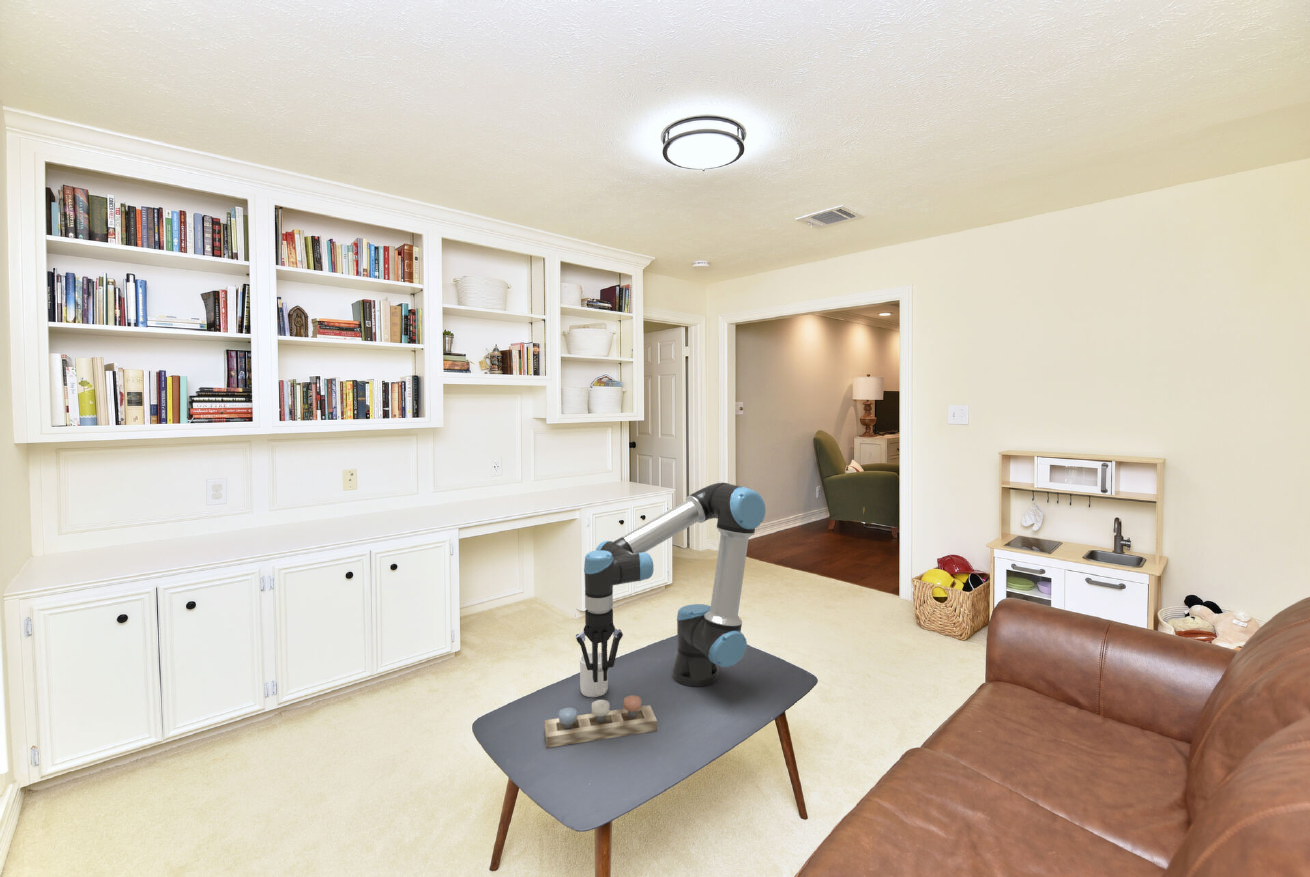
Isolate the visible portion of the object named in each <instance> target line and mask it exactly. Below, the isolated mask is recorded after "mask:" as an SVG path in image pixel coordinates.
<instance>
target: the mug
mask: <svg viewBox="0 0 1310 877" xmlns="http://www.w3.org/2000/svg"><path fill="white" fill-rule="evenodd" d="M587 654H588V657H589V661H590V663H592V651H590V652H587ZM608 659H609V656H607V661H608ZM598 667H602V657H601V651H600V652H599V651H598ZM579 670H580V671H579V677H580V678H579V682H580V684H579V685H580V686H579V687H580V692H581V695H583V696H584V697H587V698H599V697H602V696H604V695H605V694H607V692H608V690H609V689H608V688H609V670H608V671H607V681H603V686H604V694H602V695H598V693H597V682H594V681H593V671H592V670H587V667H586V664H585V660H584V656H583V654H582V655H581V656H580V657H579Z"/></svg>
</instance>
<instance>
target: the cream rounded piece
mask: <svg viewBox="0 0 1310 877" xmlns="http://www.w3.org/2000/svg"><path fill="white" fill-rule="evenodd" d="M609 711H610V702H609V701H608V700H606V699H597V700H594V701H592V703H591V714H593V715H595V716H596V722H598V723H603V722H605V721H606V715H607V714H608V713H609Z"/></svg>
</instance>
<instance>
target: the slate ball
mask: <svg viewBox="0 0 1310 877" xmlns="http://www.w3.org/2000/svg"><path fill="white" fill-rule="evenodd" d="M577 713H578V712H577V710H576V708H574V707H565V708H561V709H560V710H559V711H558V718H559V722H560V723H561V724H563V730H567V729H573V723H574V722H575V721H576V720H577V716H578V714H577Z"/></svg>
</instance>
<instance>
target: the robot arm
mask: <svg viewBox="0 0 1310 877" xmlns="http://www.w3.org/2000/svg"><path fill="white" fill-rule="evenodd" d="M765 516H766V504H765V500H764V499H763V497H762V495H761V494H760V493H759V492H757V491H756V490H753V489H752V488H749V487H746V486H740V485H735V484H731V483H727V482H717V483H713V484H710V485H707V486H705V487H702V488H701V489H699V490H695V491H694V492H693V493H691V494H689V495H688V496H686V498H685V501H683V502H682V503H680V504H678V505H676V506H675V507H673V508H671V509H669V510H668V511H666V512H664V513H663V514H660V515H658V516H657V517H655V518H653V519H652V520H649V521H647V522H646V523H644V524H642V525H641V526H639V527H637V528H636V529H633V530H632V531H630V532H628V533H627V534H625V535H623V536H621V537H620V538H618V539H615V540H610V541H609V540H604V541H601V542H600V543H599V544H598V545H597V547H596V549H595V550H592V551H589V552H588V553H586V555H585V556H584V568H583V571H584V606H585V607H584V608H585V611H584V614H585V615H584V618H585V619H584V622H585V625H584V627H583V630H582V632H580V633H576V635H575V639H576V642H577V643H578V645H579V646H580V649H581V652H582V655H583V656H584V660H585V664H586V667H587V670H592V671H593V681H594V682H597V693H598V695H602V694H604V686H603V681H607V671H608V672H609V668H613V667H614V666H615V663H616V662H615V661H616V658H617V654H618V649H619V645H620V641H621V639H622V638H623V637H624V634H623V632H622V629H617V628H616V627H615V625H614V610H613V607H614V596H613V594H614V588H613V587H614V586H619V585H624V584H629V583H636V582H641V581H645V580H648V579H650V578H651V577H652V576H653V574H654V560H653V558H652V556H651V555H650V554H649V553H648V551H649V550H652V549H654V548H655V547H657V546H658V545H660V544H661V543H663V542H665V541H667V540H668V539H669V540H670V539H671V538H672V537H674V536H676V535H678V534H679V533H681V532H683V531H684V530H686V529H688V528H689V527H691V526H693V525H695V524H697V523H699V524H703V523H704V522H706V521H708V520H712V519H716V520H717V523H716V529H717V530H718V532H719V534H720V537H719V543H718V544H719V545H718V551H717V559H716V566H715V573H714V579H713V587H712V593H711V602H710V605H709V604H701V603H698V604H697V603H695V604H688V605H684V606H682V607H680V608H679V609H678V611H677V615H676V616H677V617H676V622H677V624H676V626H677V628H676V632H677V634H676V635H677V636H676V638H677V640H676V642H677V645H676V646H677V647H676V648H677V651H676V652H677V653H676V655H675V658H674V661H673V664H672V667H671V676H672V678H673V680H674V681H676V682H677V683H679V684H681V685H685V686H688V687H704V686H705V687H706V686H709V685H711V684H713V683H715V682H716V681H717V680H718V678H719V667H721V668H730V667H732V666H735V665H736V664H737V663H739V661H741V660H742V658H743V657H744V655H745V654H746V651H747V646H748V645H747V644H748V642H747V638H746V637H745V635H744V634H743V633H742V624H743V620H742V619H741V617H740V616H739V609H740V603H741V595H742V589H743V588H742V587H743V582H744V581H743V580H744V574H745V567H746V566H745V565H746V561H747V560H746V559H747V554H748V553H747V551H748V546H749V545H748V544H749V539H750V538H751V537H752V536H753V535H755V532H756V529H757V528H758V527H760V525H761V523H763V521H764V519H765ZM612 635H613V639H612V642H611V647H610V651H609V656H608V641H609V640H610V638H611V637H612ZM586 637H587V639H588V640H589V641H590V642H591V652H592V663H590V661H589V657H588V654H587V653H588V651H587V647H586V644H585V641H586ZM599 643H600V644H601V645H600V646H601V648H600V649H601V651H600V652H601V657H602V667H598V652H599V647H598V646H599ZM607 657H608V661H607ZM718 666H719V667H718ZM604 695H605V694H604ZM602 696H603V695H602Z"/></svg>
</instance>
